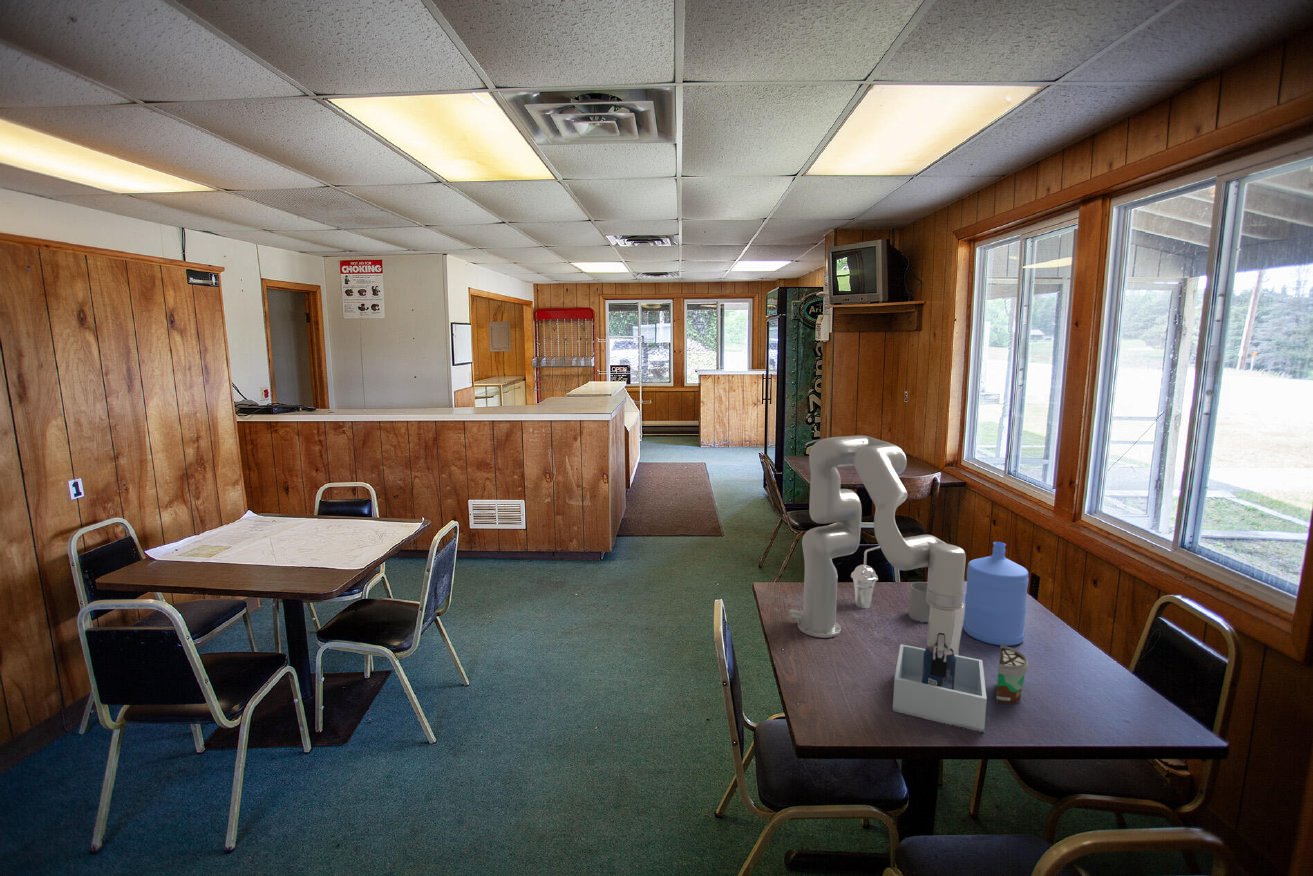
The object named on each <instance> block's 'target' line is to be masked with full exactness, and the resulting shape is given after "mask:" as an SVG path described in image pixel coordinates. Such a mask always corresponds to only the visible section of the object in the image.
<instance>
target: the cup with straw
mask: <svg viewBox="0 0 1313 876" xmlns="http://www.w3.org/2000/svg"><path fill="white" fill-rule="evenodd" d="M879 549H881V548H880V546H879V545H878V546H875V547H874V546H873V547H871V548H868V549H866V550H865V551H864V553H863V556H864V557H863V564H860V565H857V566H856V567H855V569H854V570H853V571H852V572H851V574H850V577H851V579H852V580H853V581H852V582H853V584H854V585H853V586H854V597H855V599H854V600H855V606H856V607H858V608H860V607H861V609H869V608H871V603H872V599H873V594H874V587H875V585H876V582H877V581H879V576H878V575H877V574H876V571H875V569H874V568H873V567H872V566H870V565H867V554H868V552H871V551H874V550H879Z"/></svg>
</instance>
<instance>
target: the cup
mask: <svg viewBox="0 0 1313 876" xmlns="http://www.w3.org/2000/svg"><path fill="white" fill-rule="evenodd" d="M909 585H910V587H909V604H908V617H909V616H910V617H911V618H910V617H909V618H910V619H912V618H913V619H915V620H914V621H916V620H918V621H921V622H920V623H923V622H929V611H930V605H929V604H928V603H927V602H926V595H927V582H923V581H921V582H920V581H916V582H911V584H909ZM913 619H912V620H913ZM918 621H917V622H918Z"/></svg>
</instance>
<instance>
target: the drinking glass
mask: <svg viewBox="0 0 1313 876" xmlns="http://www.w3.org/2000/svg"><path fill="white" fill-rule="evenodd" d="M964 615H965V603H963V602H962V607H961V608H960V609H958V610H955V619H954V628H953V635H952V641H951V647H950V648H951V649H952V650H953V651H954V655H959V651H960V643H961V638H962V631H963V621H964Z"/></svg>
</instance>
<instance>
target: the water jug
mask: <svg viewBox="0 0 1313 876" xmlns="http://www.w3.org/2000/svg"><path fill="white" fill-rule="evenodd" d="M992 545H993V547H992V554H991V555H989V556H984V557H979V558H975V559H972V560H970V561H969V562H968V564H967V568H966V590H965V596H964V621H963V627H962V629H963V630H964V631H965V633H966V634H967V635H969V636H970V637H971V638H972V639H975V640H978V641H980V642H982V643H986V644H990V645H995V646H999V647H1001V645H1004V646H1007V647H1009V646H1010V647H1011V646H1017V645H1019V644H1021V643H1022V642H1023V641H1024V638H1025V631H1024V630H1025V618H1026V613H1027V597H1028V596H1027V595H1028V587H1029V571H1028V570H1027V568H1026V567H1024V566H1022V565H1020V564H1018V563H1016V562H1014V561H1012V560H1010V559H1009V558H1006V556H1005V555H1006V546H1007V544H1006V543H1005V542H1001V541H994V542H992Z"/></svg>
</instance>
